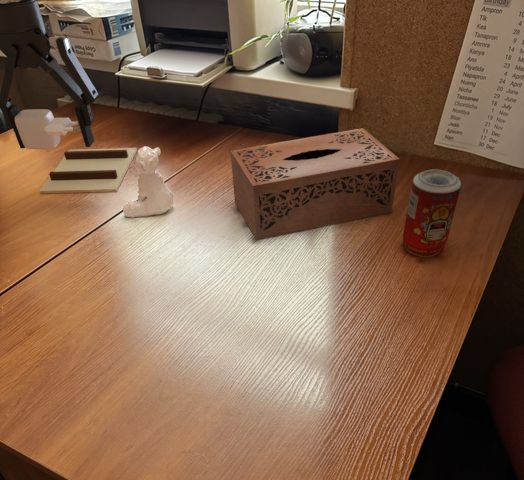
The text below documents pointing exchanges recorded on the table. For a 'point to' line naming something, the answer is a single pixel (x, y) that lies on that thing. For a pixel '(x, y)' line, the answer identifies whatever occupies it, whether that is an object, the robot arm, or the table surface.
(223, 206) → the table surface
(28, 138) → the power adapter
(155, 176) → the sitting furry creature
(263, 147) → the tissue box cover
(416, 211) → the red snack canister
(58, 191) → the slot mat
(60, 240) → the table surface
